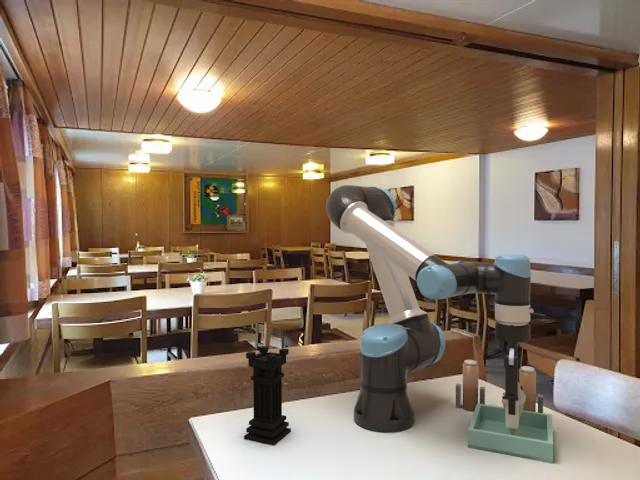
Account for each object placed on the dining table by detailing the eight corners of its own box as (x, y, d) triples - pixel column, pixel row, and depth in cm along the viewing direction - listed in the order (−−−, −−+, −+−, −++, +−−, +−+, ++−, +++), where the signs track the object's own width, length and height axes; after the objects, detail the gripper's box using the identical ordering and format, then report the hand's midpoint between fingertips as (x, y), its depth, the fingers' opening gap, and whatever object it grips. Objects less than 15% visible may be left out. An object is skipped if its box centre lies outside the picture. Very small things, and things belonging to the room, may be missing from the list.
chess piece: (291, 431, 113) (290, 348, 112) (274, 445, 106) (273, 357, 105) (262, 425, 116) (262, 345, 116) (244, 439, 109) (243, 353, 108)
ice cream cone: (527, 441, 107) (530, 376, 105) (505, 441, 107) (507, 376, 105) (518, 430, 112) (520, 368, 110) (497, 430, 112) (499, 368, 110)
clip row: (455, 407, 128) (455, 385, 128) (456, 404, 130) (456, 383, 129) (542, 421, 119) (543, 397, 119) (542, 418, 121) (543, 395, 120)
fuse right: (518, 418, 120) (519, 369, 119) (518, 412, 124) (519, 364, 123) (535, 421, 119) (536, 371, 118) (535, 415, 122) (535, 366, 122)
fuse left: (461, 409, 126) (461, 362, 126) (463, 404, 130) (463, 358, 129) (477, 412, 125) (477, 364, 124) (478, 407, 128) (479, 360, 128)
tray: (467, 447, 105) (467, 429, 105) (477, 418, 120) (477, 403, 120) (553, 463, 98) (553, 444, 98) (551, 431, 113) (551, 414, 113)
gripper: (529, 331, 98) (529, 441, 99) (531, 316, 115) (531, 411, 115) (491, 328, 102) (491, 435, 102) (498, 314, 118) (498, 406, 118)
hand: (512, 422), depth 109 cm, fingers closed on ice cream cone, 5 cm apart
